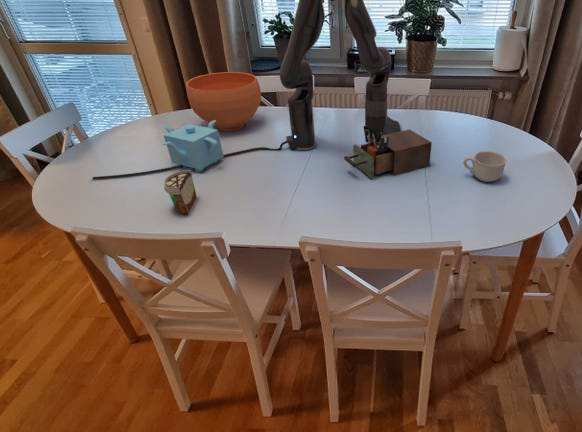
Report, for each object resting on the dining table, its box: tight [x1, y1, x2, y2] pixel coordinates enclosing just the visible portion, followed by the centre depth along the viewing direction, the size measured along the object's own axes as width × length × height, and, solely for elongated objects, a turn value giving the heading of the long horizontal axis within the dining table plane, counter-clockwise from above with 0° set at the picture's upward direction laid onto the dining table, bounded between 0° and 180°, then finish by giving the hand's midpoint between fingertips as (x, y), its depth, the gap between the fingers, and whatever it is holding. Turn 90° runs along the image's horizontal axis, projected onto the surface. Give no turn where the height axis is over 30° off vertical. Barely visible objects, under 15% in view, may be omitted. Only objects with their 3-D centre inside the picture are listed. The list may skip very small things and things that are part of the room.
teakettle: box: [161, 120, 225, 173], centre depth 143 cm, size 19×19×15 cm
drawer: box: [343, 142, 393, 179], centre depth 141 cm, size 20×13×7 cm, turn 119°
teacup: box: [462, 150, 507, 183], centre depth 136 cm, size 14×11×8 cm
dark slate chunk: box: [384, 115, 402, 135], centre depth 172 cm, size 15×22×5 cm
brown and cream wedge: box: [163, 169, 198, 216], centre depth 120 cm, size 12×6×10 cm, turn 5°
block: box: [367, 145, 384, 162], centre depth 140 cm, size 4×4×4 cm
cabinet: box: [378, 129, 433, 176], centre depth 145 cm, size 16×14×9 cm
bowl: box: [185, 71, 262, 132], centre depth 173 cm, size 30×30×20 cm
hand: (375, 157), depth 141 cm, fingers closed on block, 4 cm apart
